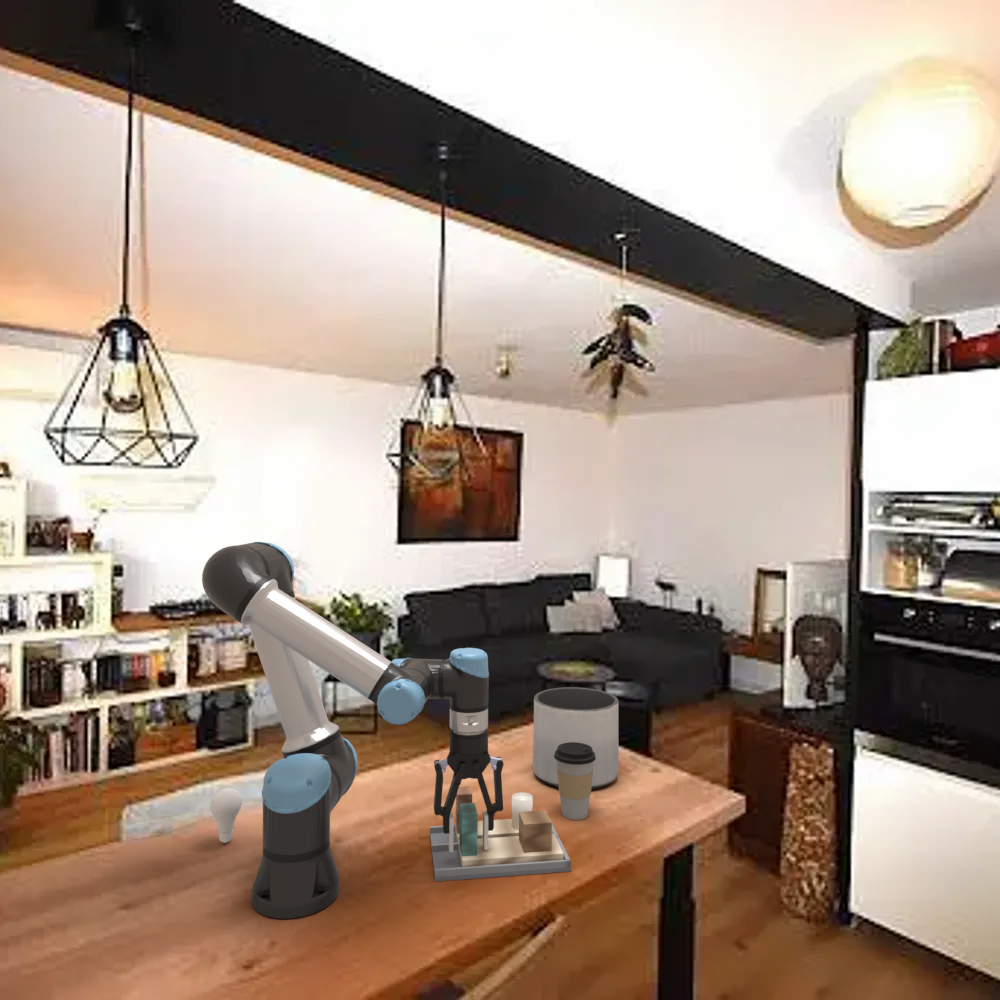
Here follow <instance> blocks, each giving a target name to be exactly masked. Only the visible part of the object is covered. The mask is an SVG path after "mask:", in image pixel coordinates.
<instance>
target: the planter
mask: <svg viewBox="0 0 1000 1000" xmlns="http://www.w3.org/2000/svg"><path fill="white" fill-rule="evenodd" d="M532 740H533V741H532V745H533V746H532V770H533V773H534V774H535V776H536V777H538V778H539V779H540V781H542V782H544V783H545V784H548V785H550V786H552V787H555V788H559V786H558V775H557V760H556V759H555V758H554V755H555V751H556V750H557V748H558V746H559V745H560V744H563V743H569V742H577V743H583V744H587V745H589V746H591V747H592V750H593V752H594V753H595V757H596V759H595V761H594V762H593V778H592V787H591V790H595V789H600V788H604V787H606V786H608V785H610V784H611V783H612V782H613V781H615V780H616V779H617V778H618V776H619V768H620V767H619V765H620V763H619V762H620V761H619V755H620V754H619V753H620V752H619V751H620V750H619V749H620V748H619V744H620V743H619V742H620V741H619V699H618V698H617V696H615V695H614V694H612V693H610V692H607V691H604V690H599V689H595V688H590V687H577V686H576V687H575V686H573V687H572V686H571V687H569V686H568V687H554V688H549V689H545V690H542V691H540V692H537V693H536V694H535V695H534V697H533V739H532Z"/></svg>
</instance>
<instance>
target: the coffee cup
mask: <svg viewBox="0 0 1000 1000" xmlns="http://www.w3.org/2000/svg"><path fill="white" fill-rule="evenodd" d="M554 758H555V759H556V760H557V775H558V786H559V787H558V794H559V797H560V799H559V800H560V808H561V815H562V816H563V817H564V818H566V819H569V820H572V821H573V820H574V821H579V820H584V819H586V818H587V817H588V816H589V815H588V814H589V809H590V807H589V805H590V800H591V799H590V797H591V794H592V789H591V787H592V778H593V762H594V761H595V759H596V757H595V753H594V752H593V750H592V747H591V746H589V745H587V744H583V743H577V742H569V743H563V744H560V745H559V746H558V748H557V750H556V751H555V755H554Z"/></svg>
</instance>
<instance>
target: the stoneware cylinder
mask: <svg viewBox="0 0 1000 1000" xmlns="http://www.w3.org/2000/svg"><path fill="white" fill-rule="evenodd" d="M533 798H534V797H533V795H532V794H531V793H529V792H525V791H524V792H523V791H522V792H521V791H520V792H516V793H513V794H512V795H511V819H512V827H513V828H515V829H517V830H519V812H527V811H534V810H533V808H534V807H533V806H534V803H533V801H534V799H533Z"/></svg>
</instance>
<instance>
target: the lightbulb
mask: <svg viewBox="0 0 1000 1000" xmlns="http://www.w3.org/2000/svg"><path fill="white" fill-rule="evenodd" d="M242 804H243V803H242V797H241V795H240V792H238V791H237V790H236V789H234V788H231V787H230V788H229V787H227V788H222V789H220V790H218V791H217V792H216V793H215V794H214V795H213V797H212V798H211V800H210V805H209V809H210V813H211V815H212V817H214V819H215V823H216V825H217V832H218V836H219V837H218V839H219V841H220V842H221V843H223V844H227V843H229V841H231V840H232V839H233V835H234V832H233V831H234V828H235V822H236V818H237V817H238V814H239V813H240V810H241V808H242Z"/></svg>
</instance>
